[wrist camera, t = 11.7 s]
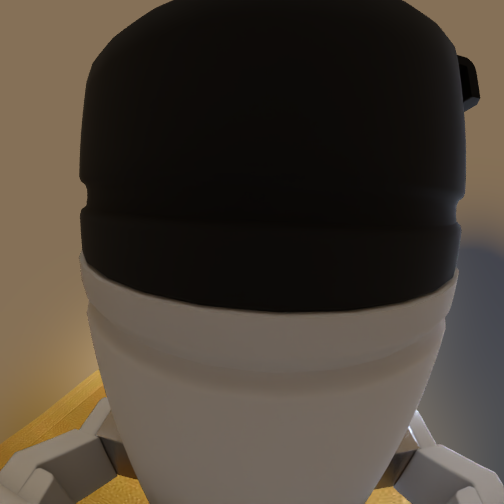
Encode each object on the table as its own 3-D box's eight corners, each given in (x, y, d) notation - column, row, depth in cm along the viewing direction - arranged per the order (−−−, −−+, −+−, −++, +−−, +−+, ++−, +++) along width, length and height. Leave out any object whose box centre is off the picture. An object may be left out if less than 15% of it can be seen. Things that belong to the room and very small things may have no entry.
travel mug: (302, 609, 5) (554, 4, 1) (171, 582, 7) (12, 35, 2) (320, 524, 11) (418, 111, 7) (210, 506, 13) (190, 104, 8)
